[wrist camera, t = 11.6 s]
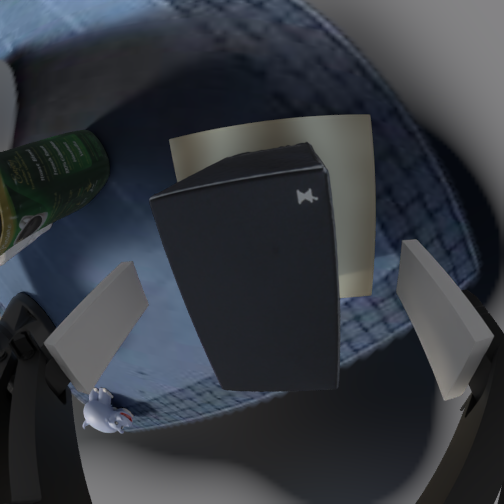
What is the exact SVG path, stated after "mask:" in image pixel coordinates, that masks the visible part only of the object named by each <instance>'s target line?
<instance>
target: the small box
mask: <svg viewBox="0 0 504 504" xmlns="http://www.w3.org/2000/svg"><path fill="white" fill-rule="evenodd" d="M149 203H150V206H151V209H152V212H153V216H154V219H155V222H156V225H157V228H158V231H159V234H160V238H161V241H162V244H163V246H164V249H165V252H166V255H167V258H168V260H169V263H170V266H171V269H172V271H173V274H174V277H175V279H176V282H177V285H178V287H179V290H180V292H181V295H182V298H183V300H184V303H185V305H186V308H187V310H188V313H189V315H190V317H191V320H192V322H193V325H194V327H195V329H196V332H197V334H198V337H199V339H200V341H201V344H202V346H203V348H204V350H205V353H206V355H207V357H208V359H209V361H210V364H211V366H212V368H213V370H214V372H215V375H216V377H217V379H218V381H219V383H220V385H221V387H222V389H223V390H232V391H259V392H264V391H306V390H326V389H336V388H338V386H339V369H340V291H339V276H338V255H337V239H336V227H335V219H334V208H333V200H332V191H331V184H330V175H329V171H328V169H327V168H326V166H325V165H324V164H323V162H322V161H321V159H320V158H319V156H318V155H317V154H316V153H315V151H314V149H313V147H312V145H311V144H309V143H308V142H305V143H299V144H296V145H293V146H290V145H286V146H285V147H284V146H280V147H278V148H272V149H266V150H259V151H254V152H245V153H241V154H237V155H234V156H230V157H226V158H224V159H222V160H220V161H218V162H216V163H214V164H212V165H210V166H208V167H206V168H204V169H202V170H200V171H198V172H197V173H195V174H193V175H191V176H188V177H187V178H185V179H183V180H181V181H179V182H177V183H176V184H174V185H172V186H170V187H169V188H167V189H165V190H163V191H161V192H160V193H157V194H154V195H153V196H152V197H151V198H150V199H149Z"/></svg>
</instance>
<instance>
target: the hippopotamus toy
mask: <svg viewBox="0 0 504 504" xmlns="http://www.w3.org/2000/svg"><path fill="white" fill-rule="evenodd" d="M111 398H113V396H112V394H111V393H110V392H109V391H108V390H107V389H105V388H99V390H98V389H97V388H93V389H92V391H91V392H90V395H89V402H88V403H86V405H85V407H84V416H85V419H86V420H85V421H84V423H83V428H84V427H85V426H87V425H88V424H90V425H91V426H93V427H94V428H95V429H97V430H99V431H102V432H106V433H113V432H116V431H119V432H120V433H121V434H122V433H124V431H123V430H121V429H123V427H124V426H126V427H128V426H129V427H130V426H131V425H132V421H133V418H132V417H133V416H134V415H133V414H132V413H131V412H130V411H129V410H127V409H125V408H119V409H117V408H116V407H111ZM84 429H85V428H84Z"/></svg>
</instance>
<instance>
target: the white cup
mask: <svg viewBox="0 0 504 504" xmlns="http://www.w3.org/2000/svg"><path fill="white" fill-rule="evenodd" d="M52 224H53V223H52ZM52 224H49V225H48V226H46V227H44V228H42V229H41V230H39V231H37V232H35V233H34V234H32V235H30V236H28V237H27V238H25V239H23V240H22V241H20V242H19V243H17V244H16V245H14V246H13V247H11V248H10V249H9V250H7V251H6V252H5V253H3V254H2V255H1V256H0V266H2V265H4V264H5V263H6V262H7V261H8V260H10V259H11V258H12V257H14V256H15V255H16V254H17V253H19V252H20V251H21V250H23V249H24V248H25V247H27V246H28V245H29V244H31V243H32V242H33V241H34V240H36V239H37V238H38V237H39V236H40V235H42V234H43V233H44V232H46V231H47V230H49V229H50V228H51V226H52Z"/></svg>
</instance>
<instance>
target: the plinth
mask: <svg viewBox="0 0 504 504" xmlns="http://www.w3.org/2000/svg"><path fill="white" fill-rule="evenodd" d="M169 142H170V148H171V153H172V158H173V163H174V168H175V173H176V178H177V182H179V181H181V180H183V179H185V178H187V177H188V176H191V175H193V174H195V173H197V172H198V171H200V170H202V169H204V168H206V167H208V166H210V165H212V164H214V163H216V162H218V161H220V160H222V159H224V158H226V157H230V156H234V155H237V154H241V153H245V152H254V151H259V150H266V149H272V148H278V147H280V146H284V147H285V146H286V145H290V146H293V145H296V144H299V143H305V142H308V143H309V144H311V145H312V147H313V149H314V151H315V153H316V154H317V155H318V156H319V158H320V159H321V161H322V162H323V164H324V165H325V166H326V168H327V169H328V171H329V175H330V184H331V191H332V200H333V208H334V219H335V227H336V239H337V255H338V276H339V291H340V298H346V297H358V296H369V295H371V293H372V283H373V270H374V254H375V227H376V192H375V165H374V150H373V137H372V127H371V118H370V115H326V116H310V117H298V118H287V119H278V120H270V121H262V122H255V123H248V124H241V125H235V126H229V127H224V128H218V129H213V130H208V131H203V132H199V133H194V134H190V135H185V136H181V137H177V138H173V139H169Z"/></svg>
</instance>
